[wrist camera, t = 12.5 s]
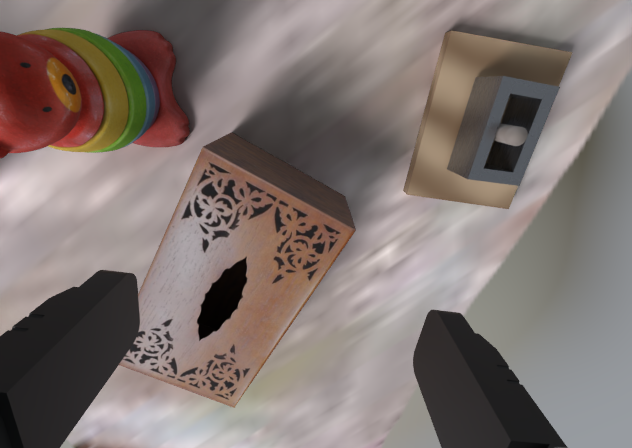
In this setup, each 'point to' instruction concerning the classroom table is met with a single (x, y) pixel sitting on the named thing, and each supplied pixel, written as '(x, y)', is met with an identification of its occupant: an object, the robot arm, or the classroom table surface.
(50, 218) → the classroom table surface
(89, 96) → the stacking bear
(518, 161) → the grey storage bin
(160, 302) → the tissue box cover
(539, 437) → the robot arm
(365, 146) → the classroom table surface
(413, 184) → the keeper board
